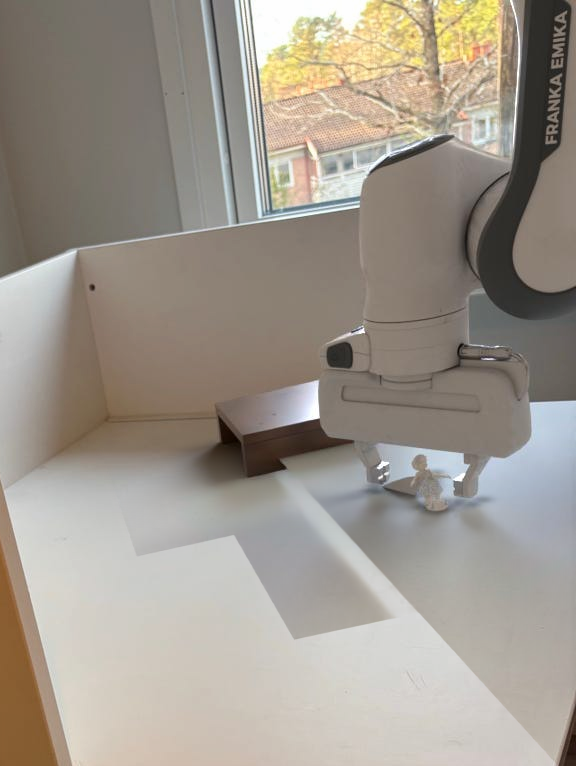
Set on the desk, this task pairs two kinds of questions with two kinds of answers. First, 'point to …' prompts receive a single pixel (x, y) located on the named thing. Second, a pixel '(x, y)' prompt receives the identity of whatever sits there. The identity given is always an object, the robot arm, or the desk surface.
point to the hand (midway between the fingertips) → (420, 488)
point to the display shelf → (274, 426)
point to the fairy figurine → (415, 483)
